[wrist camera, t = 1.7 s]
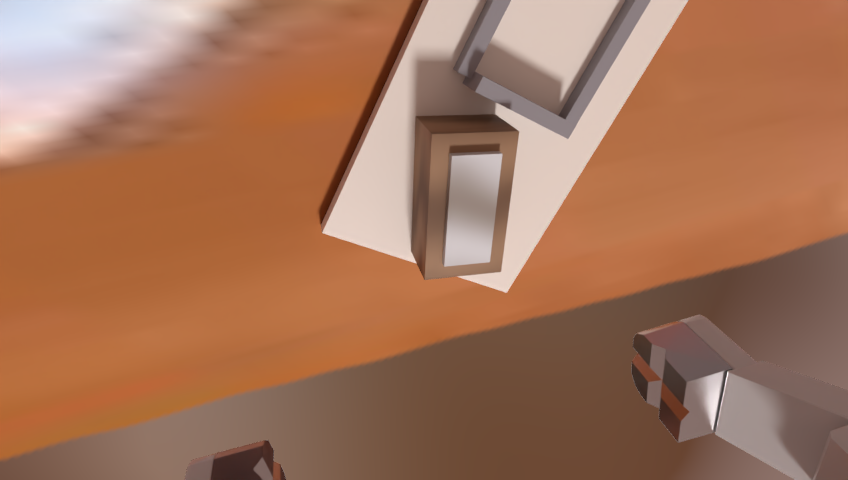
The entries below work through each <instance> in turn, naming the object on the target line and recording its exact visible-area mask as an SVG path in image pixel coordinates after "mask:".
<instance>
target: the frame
mask: <svg viewBox="0 0 848 480" xmlns="http://www.w3.org/2000/svg"><path fill="white" fill-rule="evenodd" d="M518 138H519V131H518V130H517V129H515V128H514V127H513V126H511V125H510V124H508V123H507V122H506V121H504V120H503V119H501V118H500V117H499V116H497V115H496V114H481V115H442V116H416V121H415V150H414V179H413V208H412V237H411V252H412V254H413V256H414V259H415V261H416V263H417V265H418V267H419V269H420V271H421V273H422V275H423V277H424V280H428V279H438V278H448V277H457V276H467V275H477V274H486V273H496V272H501V269H502V261H503V253H504V245H505V238H506V230H507V222H508V215H509V207H510V199H511V192H512V184H513V176H514V168H515V161H516V153H517V145H518Z"/></svg>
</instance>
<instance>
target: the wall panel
mask: <svg viewBox="0 0 848 480" xmlns="http://www.w3.org/2000/svg"><path fill="white" fill-rule="evenodd" d="M687 2H688V0H423V1H422V3H421V6H420V8H419V10H418V12H417V14H416V17H415V19H414V21H413V23H412V26H411V28H410V30H409V32H408V34H407V37H406V39H405V41H404V43H403V45H402V48H401V50H400V52H399V54H398V56H397V59H396V61H395V63H394V65H393V67H392V70H391V72H390V74H389V76H388V78H387V81H386V83H385V85H384V87H383V89H382V92H381V94H380V96H379V98H378V100H377V103H376V105H375V107H374V109H373V111H372V114H371V116H370V118H369V120H368V122H367V125H366V127H365V129H364V131H363V133H362V136H361V138H360V140H359V142H358V144H357V147H356V149H355V151H354V153H353V155H352V158H351V160H350V162H349V164H348V166H347V169H346V171H345V173H344V175H343V178H342V180H341V182H340V184H339V186H338V189H337V191H336V193H335V195H334V197H333V200H332V202H331V204H330V206H329V208H328V211H327V213H326V215H325V217H324V219H323V222H322V224H321V229H322V233H324V234H327V235H330V236H333V237H336V238H339V239H342V240H346V241H349V242H352V243H355V244H358V245H361V246H364V247H367V248H370V249H373V250H376V251H380V252H383V253H386V254H389V255H392V256H395V257H398V258H401V259H404V260H407V261H410V262H413V263H416V261H415V259H414V256H413V254H412V252H411V237H412V208H413V179H414V150H415V121H416V116H442V115H481V114H496V115H497V116H499V117H500V118H501V119H503V120H504V121H506V122H507V123H508V124H510V125H511V126H513V127H514V128H515V129H517V130H518V131H519V138H518V145H517V153H516V161H515V168H514V176H513V184H512V192H511V199H510V207H509V215H508V222H507V230H506V238H505V245H504V253H503V261H502V269H501V272H496V273H486V274H477V275H467V276H457V277H460V278H463V279H466V280H469V281H472V282H475V283H478V284H481V285H485V286H488V287H491V288H494V289H497V290H500V291H503V292H506V293H507V291H508V290H509V288H510V287H511V285H512V283H513V282H514V280H515V278H516V277H517V275H518V274H519V272H520V270H521V269H522V267H523V266H524V264H525V262H526V261H527V259H528V258H529V256H530V254H531V253H532V251H533V249H534V248H535V246H536V245H537V243H538V241H539V240H540V238H541V237H542V235H543V233H544V232H545V230H546V229H547V227H548V225H549V224H550V222H551V221H552V219H553V217H554V216H555V214H556V212H557V211H558V209H559V208H560V206H561V204H562V203H563V201H564V200H565V198H566V196H567V195H568V193H569V192H570V190H571V188H572V187H573V185H574V183H575V182H576V180H577V179H578V177H579V175H580V174H581V172H582V171H583V169H584V167H585V166H586V164H587V163H588V161H589V159H590V158H591V156H592V155H593V153H594V151H595V150H596V148H597V146H598V145H599V143H600V142H601V140H602V138H603V137H604V135H605V134H606V132H607V130H608V129H609V127H610V126H611V124H612V122H613V121H614V119H615V117H616V116H617V114H618V113H619V111H620V109H621V108H622V106H623V105H624V103H625V101H626V100H627V98H628V97H629V95H630V93H631V92H632V90H633V89H634V87H635V85H636V84H637V82H638V80H639V79H640V77H641V76H642V74H643V72H644V71H645V69H646V68H647V66H648V64H649V63H650V61H651V60H652V58H653V56H654V55H655V53H656V52H657V50H658V48H659V47H660V45H661V43H662V42H663V40H664V39H665V37H666V35H667V34H668V32H669V31H670V29H671V27H672V26H673V24H674V23H675V21H676V19H677V18H678V16H679V14H680V13H681V11H682V10H683V8H684V6H685V5H686V3H687Z"/></svg>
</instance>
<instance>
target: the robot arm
mask: <svg viewBox="0 0 848 480" xmlns="http://www.w3.org/2000/svg"><path fill="white" fill-rule="evenodd" d="M633 348H634V349H635V350H636V351H637V352H638V354H637V355H636V356H635V358H634V359H633V361H632V376H633V380H634V383H635V386H636V387H637V389H638V391H639V393H640V395H641V396H642V397H643V399H644V400H645V401H646V402H647V403H649V404H651V405H653V406H655V407H658V408H659V419H660V420H661V422H662V423H663V424H664V425H665V427H666V428H667V429H668V431H669V432H670V433H671V434H672V436H673V437H674V438H675V439H676V441H677V442H682V441H685V440H689V439H692V438H696V437H699V436H703V435H707V434H710V433H714V432H716V433H715V434H716V435H717V436H719V437H721V438H723V439H725V440H726V441H728V442H730V443H731V444H733V445H735V446H737V447H739V448H740V449H742V450H744V451H746V452H747V453H749V454H751V455H753V456H755V457H756V458H758V459H760V460H761V461H763V462H765V463H767V464H768V465H770V466H772V467H774V468H775V469H777V470H779V471H781V472H782V473H784V474H786V475H788V476H790V477H791V478H793V479H795V480H848V390H845V389H843V388H840V387H837V386H834V385H831V384H829V383H825V382H823V381H820V380H817V379H814V378H811V377H808V376H806V375H803V374H800V373H797V372H794V371H791V370H788V369H786V368H783V367H780V366H777V365H774V364H771V363H768V362H766V361H760V362H756V361H755V360H753V359H752V358H751V357H750V356H749V355H748V354H747V353H746V352H745V351H743V350H742V349H741V348H740V347H739V346H738V345H737V344H735V343H734V342H733V341H732V340H731V339H730V338H729V337H728V336H726V335H725V334H724V333H723V332H722V331H721V330H720V329H718V328H717V327H716V326H715V325H714V324H713V323H712V322H710V321H709V320H708V319H707V318H706V317H704V316H701V315H697V316H693V317H690V318H686V319H683V320H680V321H678V322H672V323H669V324H666V325H662V326H659V327H656V328H652V329H649V330H646V331H642V332H639V333H637V334H636V335H635V336H634V338H633ZM273 459H274V450H273V448H272V446H271V444H270V442H269V441H268V440H264V441H260V442H256V443H252V444H249V445H245V446H241V447H237V448H233V449H230V450H226V451H222V452H218V453H215V454H212V455H208V456H204V457H201V458H196V459H193V460H191V462H190V464H189V466H188V467H187V471H186V476H185V480H286V477H285V474H284V471H283V469H282V467H281V465H280V464H278V463H276V462H274V460H273Z"/></svg>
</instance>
